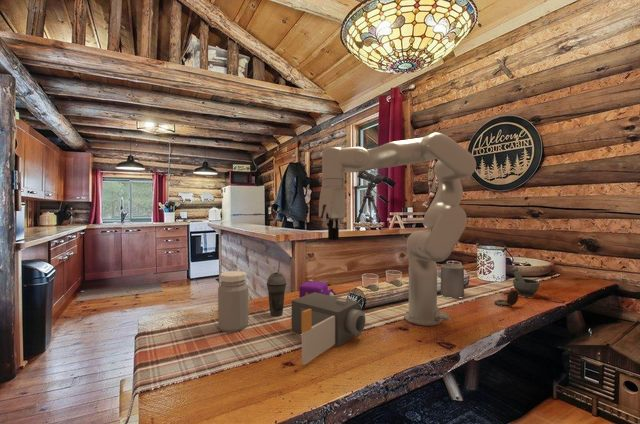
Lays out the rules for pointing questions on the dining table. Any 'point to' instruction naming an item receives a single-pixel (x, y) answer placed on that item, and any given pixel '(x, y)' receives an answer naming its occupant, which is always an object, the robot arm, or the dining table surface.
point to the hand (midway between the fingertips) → (333, 239)
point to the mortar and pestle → (524, 284)
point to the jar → (232, 301)
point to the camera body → (325, 306)
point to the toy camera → (314, 288)
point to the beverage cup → (276, 293)
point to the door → (316, 336)
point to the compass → (510, 301)
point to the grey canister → (452, 280)
